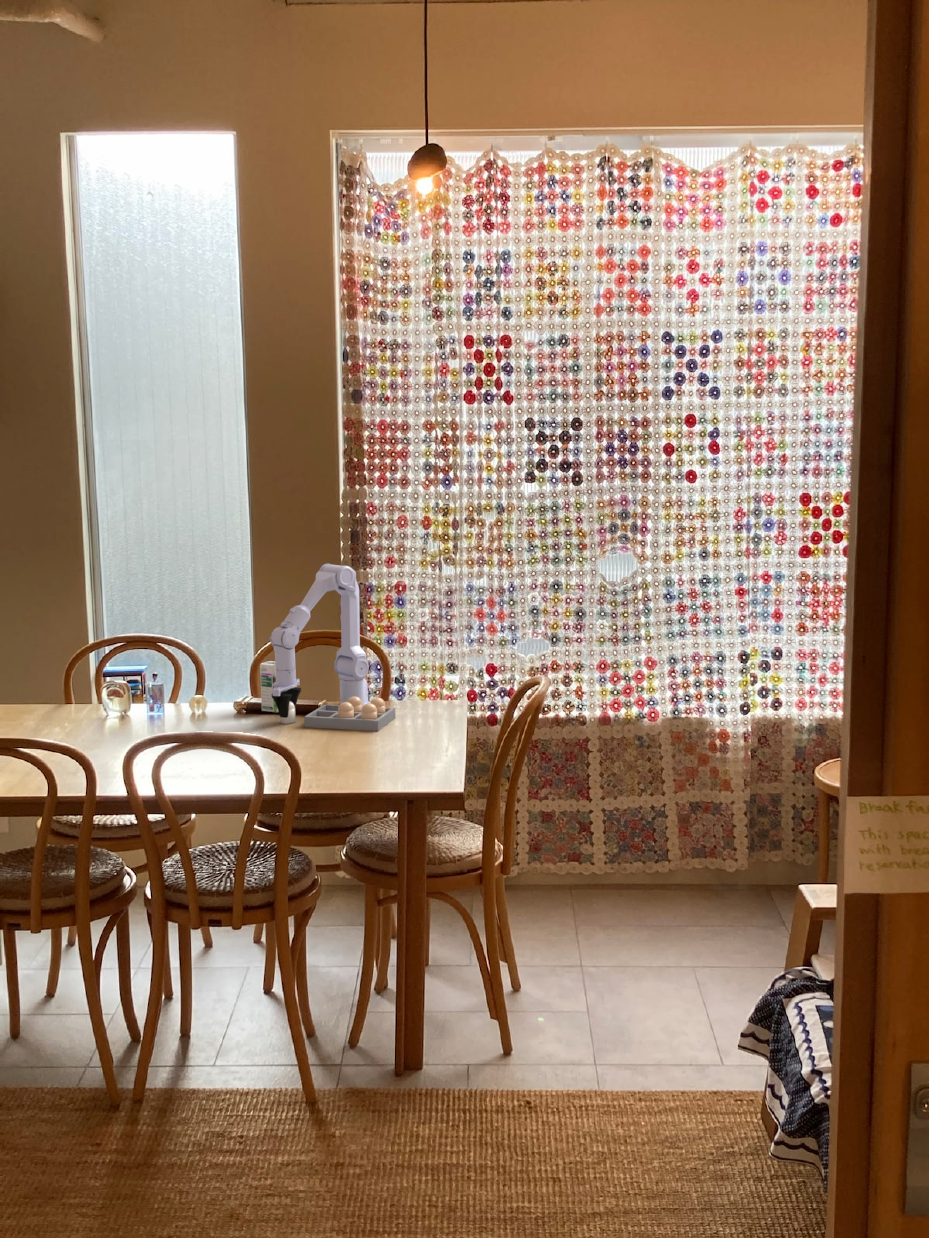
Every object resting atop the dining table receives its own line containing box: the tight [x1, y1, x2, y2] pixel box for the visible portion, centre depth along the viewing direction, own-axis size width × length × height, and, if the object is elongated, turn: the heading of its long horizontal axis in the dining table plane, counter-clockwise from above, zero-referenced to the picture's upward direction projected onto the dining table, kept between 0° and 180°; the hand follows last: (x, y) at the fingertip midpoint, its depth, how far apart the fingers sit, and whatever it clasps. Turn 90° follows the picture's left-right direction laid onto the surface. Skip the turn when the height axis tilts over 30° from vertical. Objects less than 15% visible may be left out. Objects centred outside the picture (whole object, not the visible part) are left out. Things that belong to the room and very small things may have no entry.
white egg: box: [279, 701, 296, 725], centre depth 332 cm, size 4×4×6 cm
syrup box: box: [259, 660, 279, 713], centre depth 347 cm, size 6×6×14 cm
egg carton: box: [304, 696, 396, 732], centre depth 331 cm, size 15×22×7 cm
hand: (287, 715), depth 332 cm, fingers closed on white egg, 4 cm apart
